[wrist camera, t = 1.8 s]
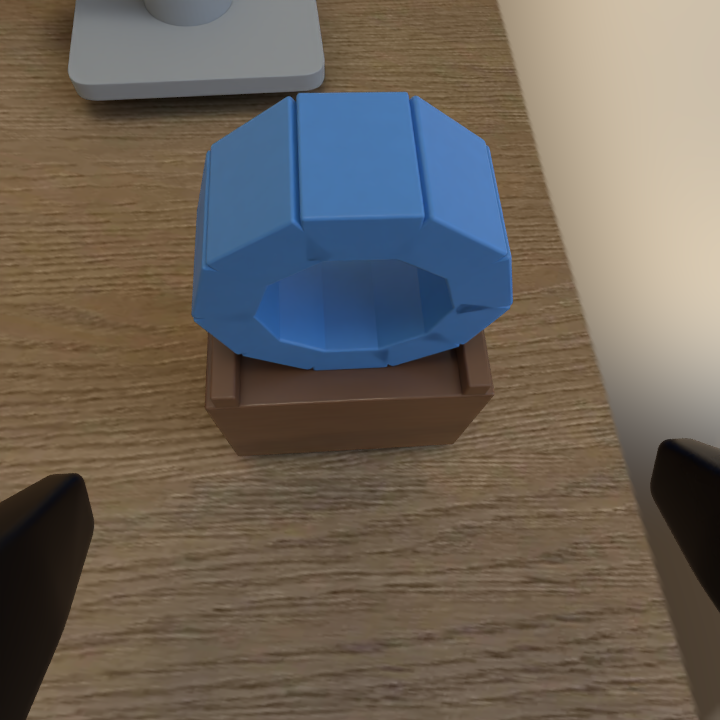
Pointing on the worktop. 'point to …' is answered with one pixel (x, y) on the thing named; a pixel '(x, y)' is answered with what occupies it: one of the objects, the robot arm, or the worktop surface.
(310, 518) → the worktop surface
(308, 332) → the tape roll
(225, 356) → the tape cradle
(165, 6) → the shower valve
